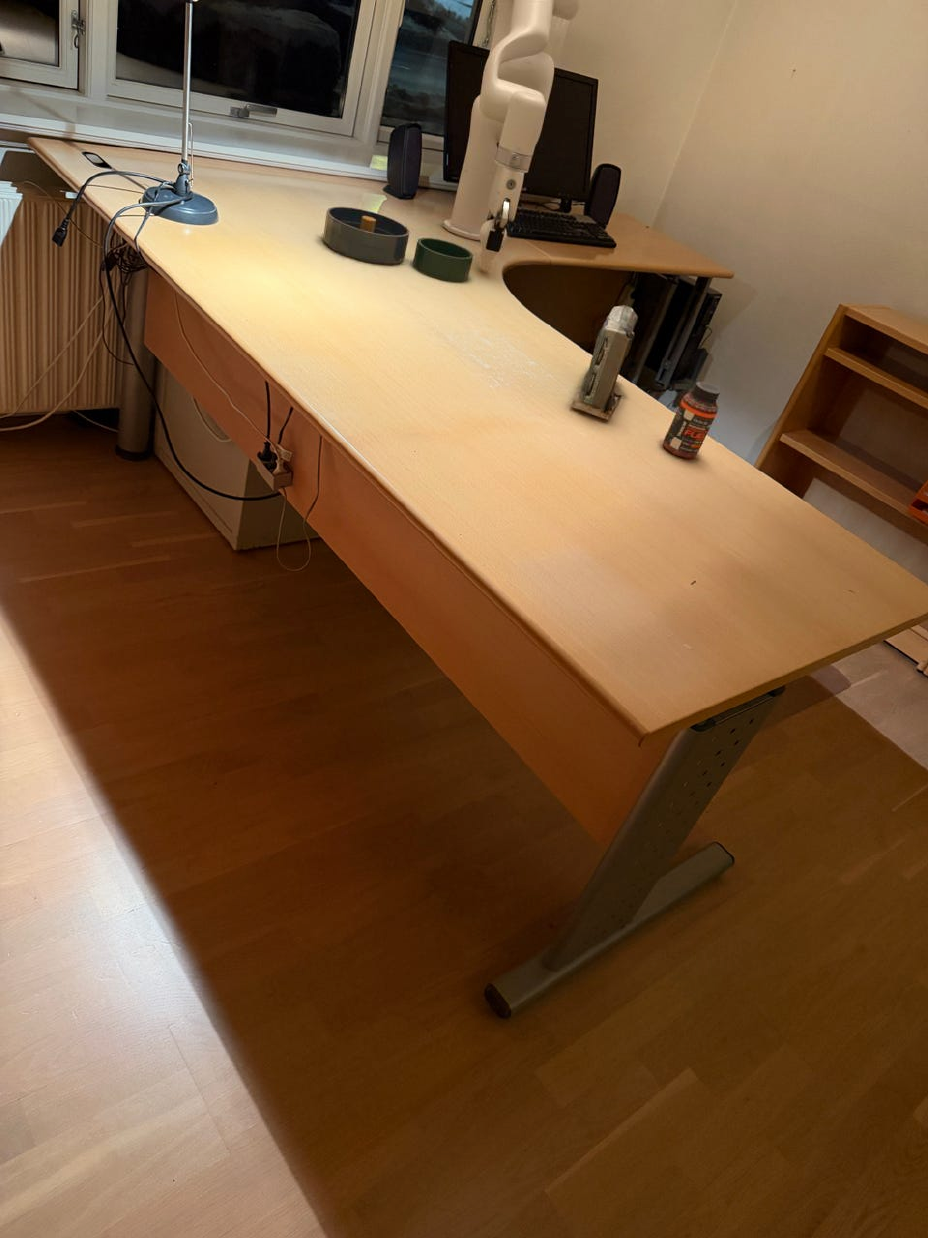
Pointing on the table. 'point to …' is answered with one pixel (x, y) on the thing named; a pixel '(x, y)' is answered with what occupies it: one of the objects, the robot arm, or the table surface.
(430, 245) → the tin
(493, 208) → the robot arm
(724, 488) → the table surface
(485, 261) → the lightbulb
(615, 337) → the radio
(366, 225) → the tin lid
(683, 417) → the supplement bottle
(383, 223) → the bowl
